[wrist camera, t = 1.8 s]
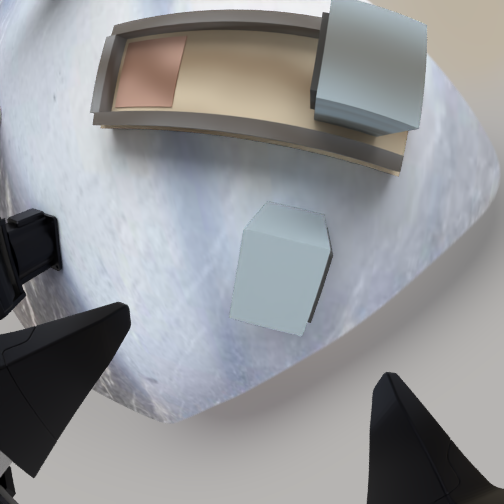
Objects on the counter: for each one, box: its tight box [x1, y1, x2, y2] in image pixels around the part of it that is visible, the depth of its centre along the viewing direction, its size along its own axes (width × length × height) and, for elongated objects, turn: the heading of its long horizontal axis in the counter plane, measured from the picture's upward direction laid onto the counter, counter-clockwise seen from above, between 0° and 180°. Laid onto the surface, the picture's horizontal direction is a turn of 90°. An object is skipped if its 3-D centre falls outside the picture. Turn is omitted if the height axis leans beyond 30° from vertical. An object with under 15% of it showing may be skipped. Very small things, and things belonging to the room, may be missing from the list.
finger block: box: [229, 201, 333, 336], centre depth 16 cm, size 5×4×7 cm
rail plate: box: [90, 0, 427, 176], centre depth 12 cm, size 9×22×8 cm, turn 80°
